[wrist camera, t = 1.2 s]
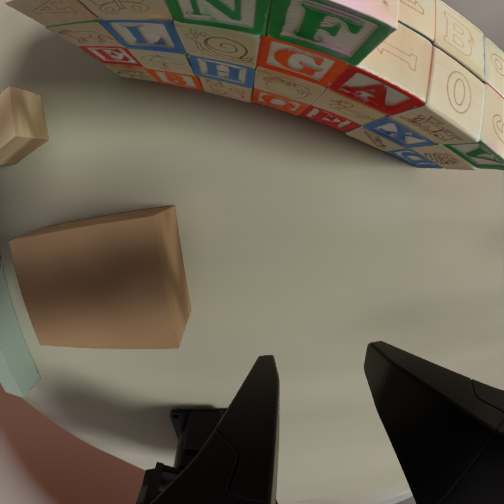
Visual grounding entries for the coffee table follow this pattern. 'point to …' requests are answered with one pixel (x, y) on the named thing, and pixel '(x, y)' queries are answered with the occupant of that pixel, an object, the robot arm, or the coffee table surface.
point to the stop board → (13, 349)
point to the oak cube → (20, 124)
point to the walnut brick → (106, 281)
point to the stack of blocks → (313, 64)
